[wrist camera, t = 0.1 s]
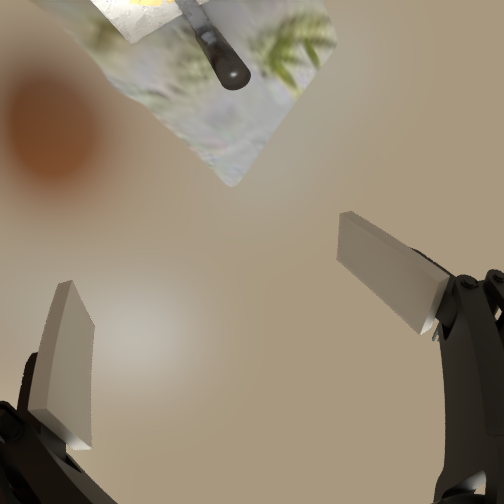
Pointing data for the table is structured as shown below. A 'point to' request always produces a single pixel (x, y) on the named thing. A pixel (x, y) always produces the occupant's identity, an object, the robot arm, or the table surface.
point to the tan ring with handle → (211, 44)
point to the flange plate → (138, 16)
